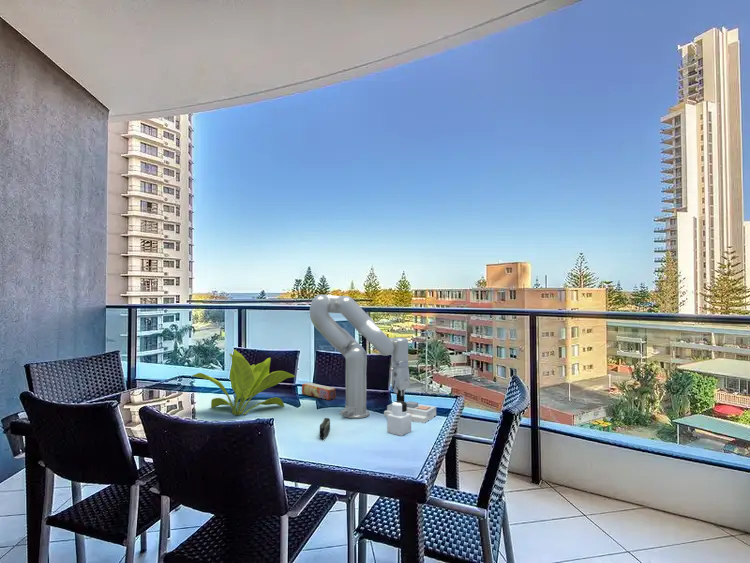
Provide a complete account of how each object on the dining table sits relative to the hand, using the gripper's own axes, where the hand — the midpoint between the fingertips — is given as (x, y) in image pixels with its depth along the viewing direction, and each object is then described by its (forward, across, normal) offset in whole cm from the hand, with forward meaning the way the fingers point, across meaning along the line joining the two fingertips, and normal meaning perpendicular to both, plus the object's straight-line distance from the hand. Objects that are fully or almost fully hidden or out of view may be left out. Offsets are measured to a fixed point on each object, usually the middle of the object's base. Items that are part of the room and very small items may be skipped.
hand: (400, 403), depth 189 cm
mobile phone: (+4, -41, +12) cm, 43 cm away
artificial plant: (+4, -36, +64) cm, 73 cm away
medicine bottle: (+4, -23, -12) cm, 26 cm away
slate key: (+1, 0, -6) cm, 6 cm away
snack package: (+4, +3, +52) cm, 52 cm away
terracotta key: (+2, 0, -12) cm, 12 cm away
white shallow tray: (+4, -2, -6) cm, 7 cm away
